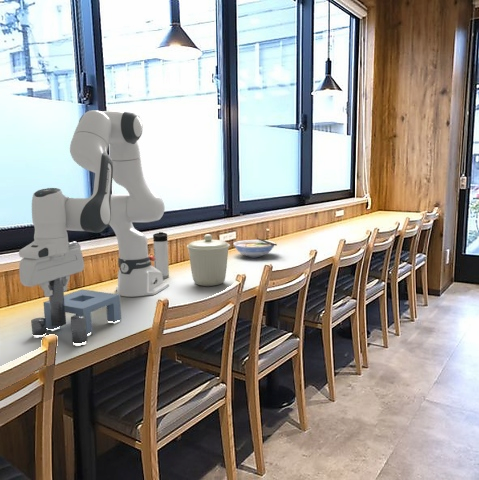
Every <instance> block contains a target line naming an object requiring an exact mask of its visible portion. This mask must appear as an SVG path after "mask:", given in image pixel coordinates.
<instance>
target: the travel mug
mask: <svg viewBox="0 0 479 480" xmlns="http://www.w3.org/2000/svg"><path fill="white" fill-rule="evenodd" d="M152 237H153V240H152V241H153V256H154V257H155V260H154V261H153V266H154V267H155V268H156V269H158V270H159V271H160V272H161V273H162V277H163V280H165V279H168V278H169V277H170V270H169V268H170V267H169V243H168V242H169V241H168V233H165V232H161V231H159V232H156V233H154V234H153V235H152Z"/></svg>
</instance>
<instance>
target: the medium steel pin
mask: <svg viewBox="0 0 479 480" xmlns="http://www.w3.org/2000/svg"><path fill="white" fill-rule="evenodd" d="M70 322H71V323H70V326H71V327H70V328H71V343H72V342H74V343H82V342H85V341H87V342H88V337H87V329H86V316H85V315H76V314H73V315H72V316H70Z"/></svg>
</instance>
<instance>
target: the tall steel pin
mask: <svg viewBox="0 0 479 480" xmlns="http://www.w3.org/2000/svg"><path fill="white" fill-rule="evenodd" d="M47 286H48V288H49V289H50V290H53V296H50V297H48V301H49V303H50V314H51V324H52V326H54V327H58V326H60V327H62V326H65V325H66V324H67V317H66V312H65V303H64V295H65V292H64V291H63V279H62V277H61V278H58V279H55V280H52V281H49V285H47Z"/></svg>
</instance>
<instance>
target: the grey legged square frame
mask: <svg viewBox="0 0 479 480" xmlns="http://www.w3.org/2000/svg"><path fill="white" fill-rule="evenodd" d="M120 296H121V295H118V294H117V293H111V292H104V291H103V292H102V291H95V290H88V289H79V290H76V291H73V292H70V293H67V294H64V303H65V313H67V314H73V315H85V316H86V329H87V334H88V333H90V332H92V333H93V328H92V327H93V326H92V313H93V312H95V311H98V310H100V309H102V308H105V307H106V318H107V320H108V321H113V322H115V321H117V320H120V319H121V320H122V315H121V313H122V311H121V297H120ZM43 312H44V313H43V314H44V318H46V328H48V329H54V328H57V327H54V326H52V324H51V314H50V303H49V300H47V301H43ZM58 327H59V326H58Z"/></svg>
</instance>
